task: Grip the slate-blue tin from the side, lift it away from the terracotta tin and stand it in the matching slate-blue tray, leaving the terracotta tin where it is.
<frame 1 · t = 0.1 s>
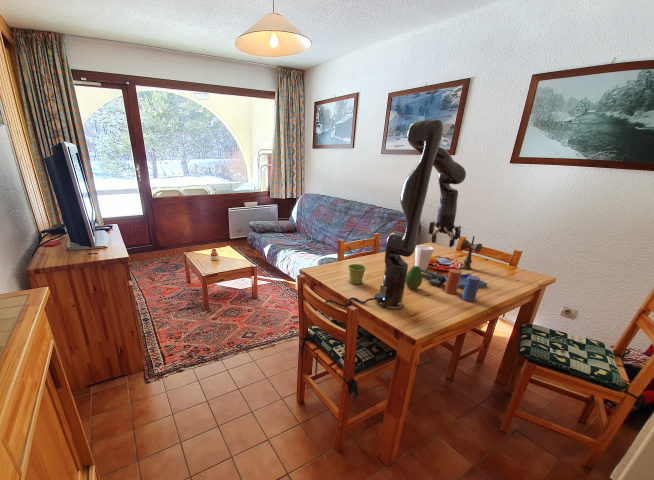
hand: (442, 244, 151), 22 cm above the table, tool pointing down, fingers open, 8 cm apart
terracotta tin: (450, 291, 154), on the table
fruit: (411, 288, 158), on the table
plant pot: (355, 282, 165), on the table
blue tray: (463, 282, 164), on the table
blue tin: (468, 299, 146), on the table
foam cup: (420, 268, 184), on the table
kendama: (465, 268, 185), on the table
can opener: (430, 281, 166), on the table
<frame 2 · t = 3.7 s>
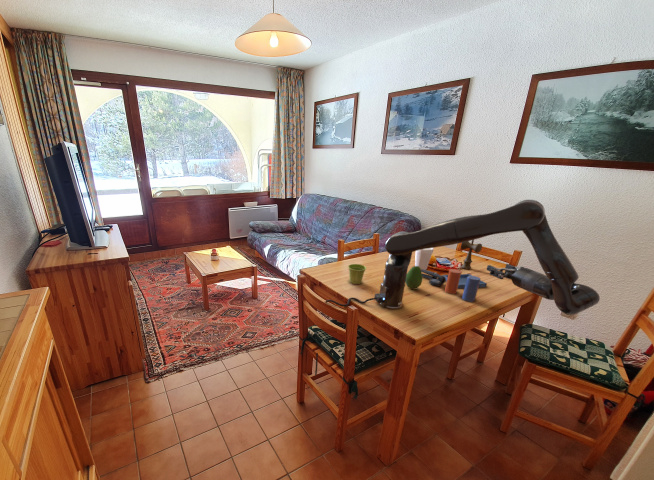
hand: (497, 266, 128), 20 cm above the table, tool horizontal, fingers open, 8 cm apart
nothing on the table moved.
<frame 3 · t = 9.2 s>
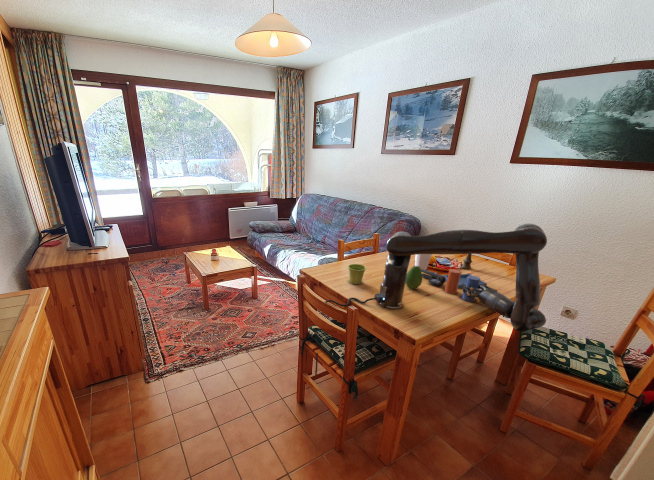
hand: (467, 284, 146), 6 cm above the table, tool horizontal, fingers closed on blue tin, 5 cm apart
blue tin: (468, 299, 146), on the table, touching gripper
everything else where it was.
when the fingers open (7 cm above the table, at t = 18.2 s): blue tin stays where it is, resting on blue tray.
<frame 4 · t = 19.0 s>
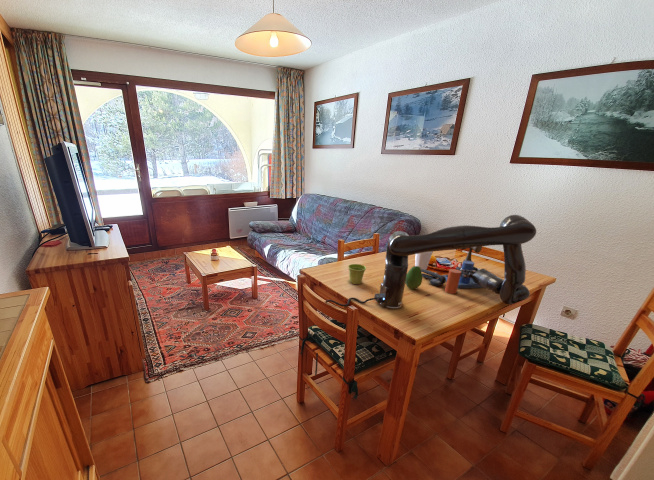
hand: (464, 268, 163), 8 cm above the table, tool horizontal, fingers open, 8 cm apart
blue tin: (463, 281, 164), resting on blue tray
everything else where it was.
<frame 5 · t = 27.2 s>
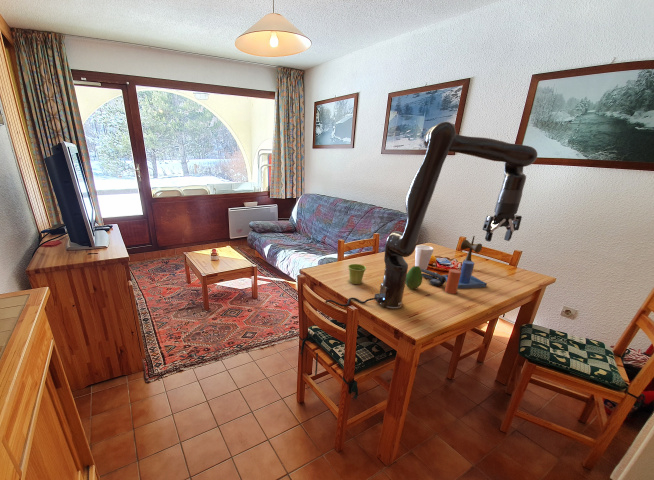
hand: (497, 240, 129), 30 cm above the table, tool pointing down, fingers open, 8 cm apart
nothing on the table moved.
at the end: blue tin inside the target area in the blue tray (0.1 cm from its centre), point 0.5 cm above the blue tray's base; blue tin tilted 0°; terracotta tin moved 0.0 cm from its start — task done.
